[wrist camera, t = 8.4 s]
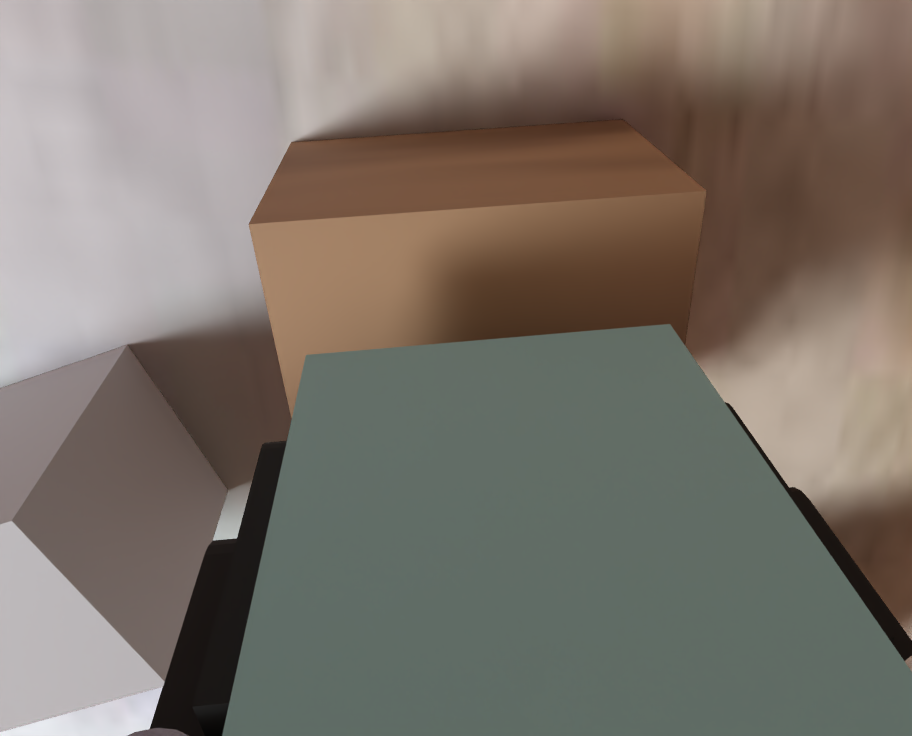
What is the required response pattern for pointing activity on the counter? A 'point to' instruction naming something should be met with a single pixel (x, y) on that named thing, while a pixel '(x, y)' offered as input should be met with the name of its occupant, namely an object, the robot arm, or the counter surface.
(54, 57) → the counter surface
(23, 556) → the grey block
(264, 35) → the counter surface
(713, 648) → the teal block
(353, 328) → the walnut block
